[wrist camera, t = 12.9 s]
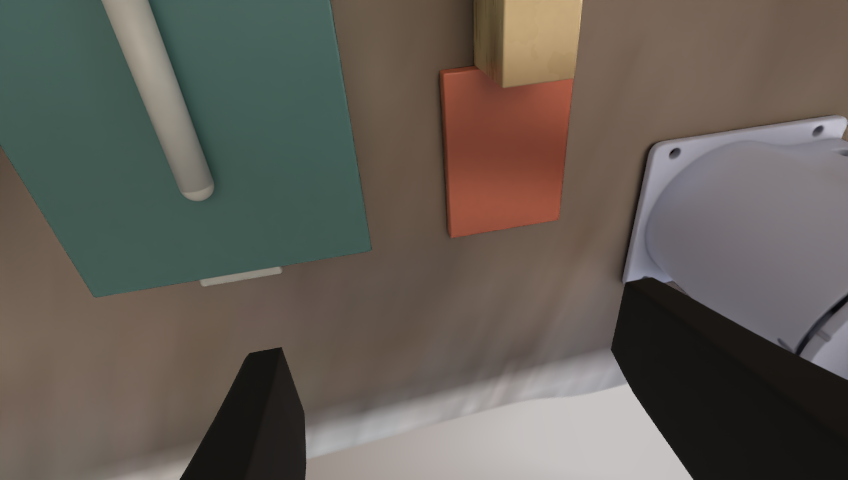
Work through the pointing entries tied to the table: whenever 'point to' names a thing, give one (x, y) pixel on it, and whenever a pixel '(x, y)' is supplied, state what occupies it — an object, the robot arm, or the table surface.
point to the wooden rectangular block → (510, 115)
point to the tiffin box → (182, 136)
